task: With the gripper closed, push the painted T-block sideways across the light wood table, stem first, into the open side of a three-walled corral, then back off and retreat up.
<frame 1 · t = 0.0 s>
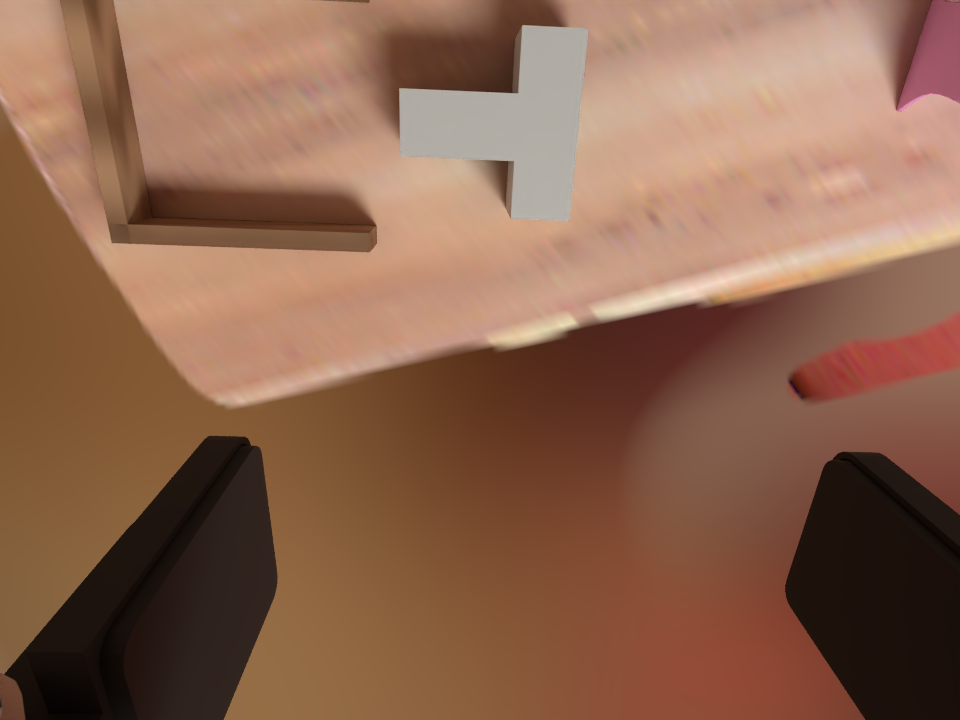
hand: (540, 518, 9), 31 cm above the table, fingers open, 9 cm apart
corral: (254, 116, 35), on the table
tee block: (537, 128, 36), on the table
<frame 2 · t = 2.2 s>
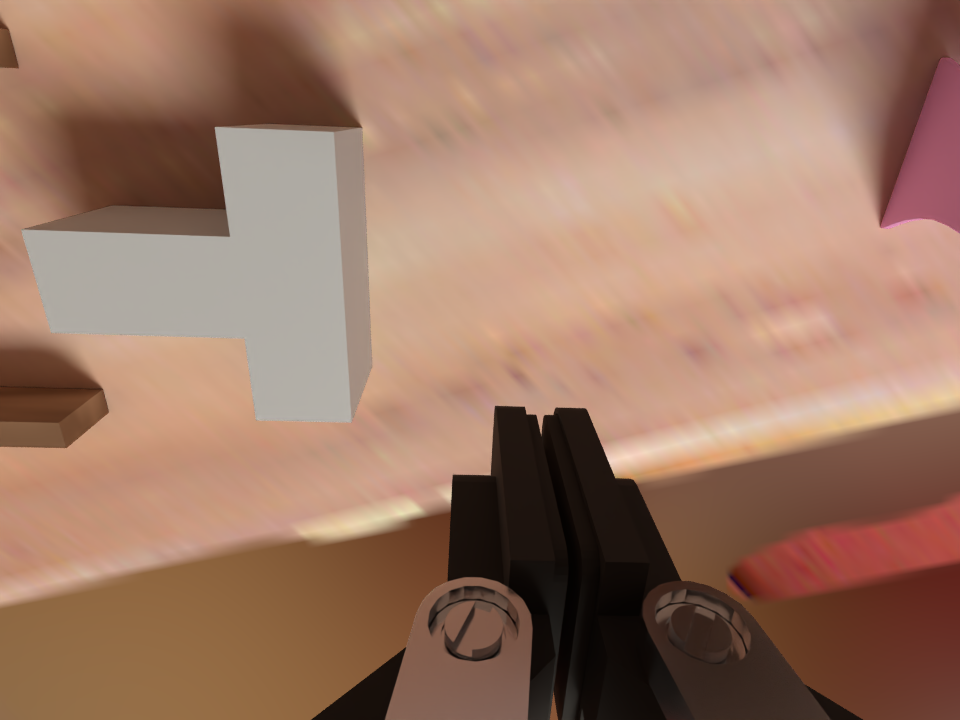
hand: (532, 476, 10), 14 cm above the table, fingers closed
tee block: (325, 255, 23), on the table
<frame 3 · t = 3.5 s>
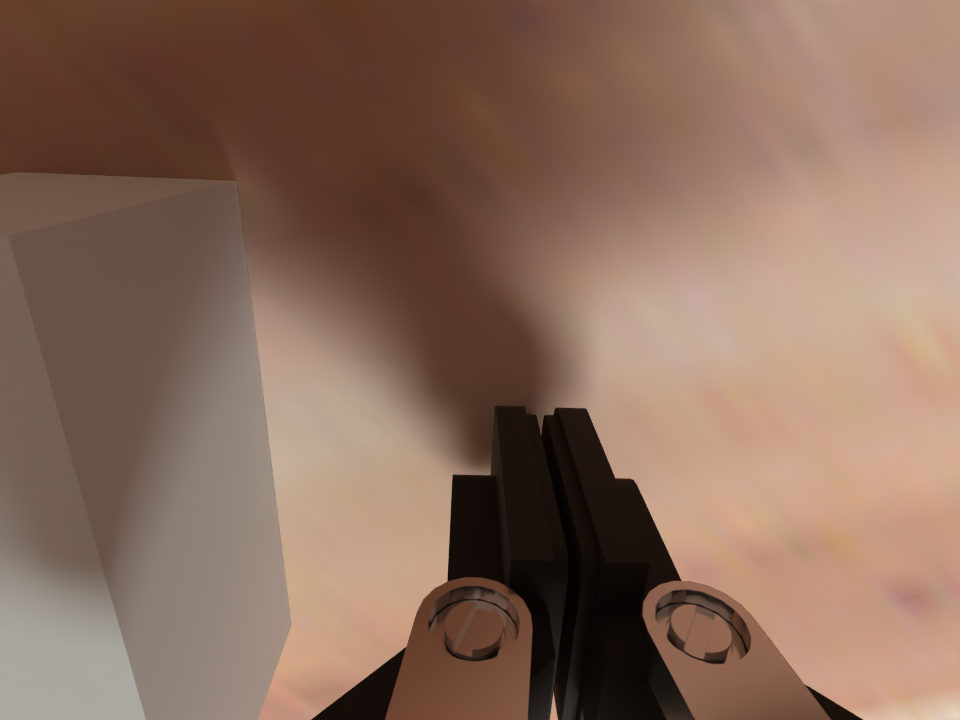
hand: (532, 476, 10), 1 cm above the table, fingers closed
tee block: (180, 438, 11), on the table
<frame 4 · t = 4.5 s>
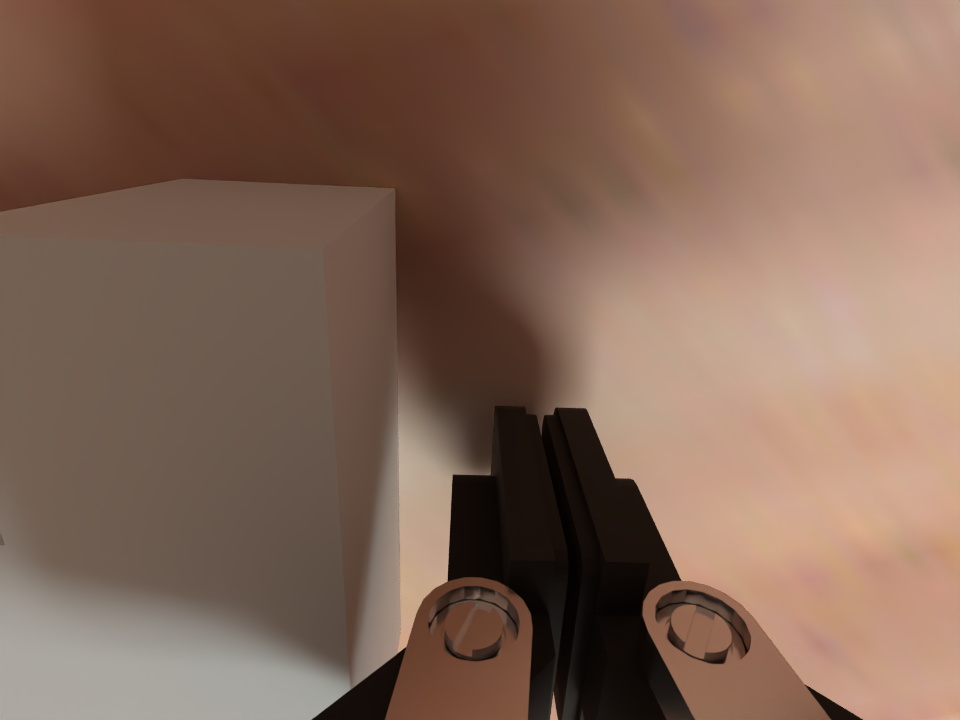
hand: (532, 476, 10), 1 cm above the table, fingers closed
tee block: (310, 443, 11), on the table, touching gripper
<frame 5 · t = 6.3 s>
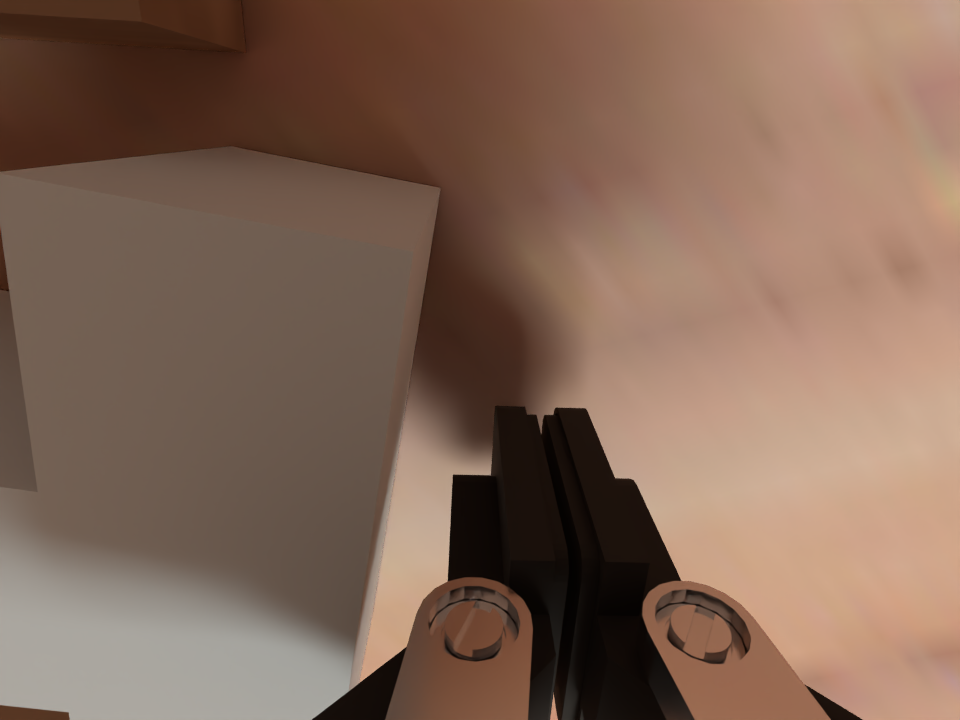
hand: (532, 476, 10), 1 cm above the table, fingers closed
tee block: (314, 423, 11), on the table, touching gripper
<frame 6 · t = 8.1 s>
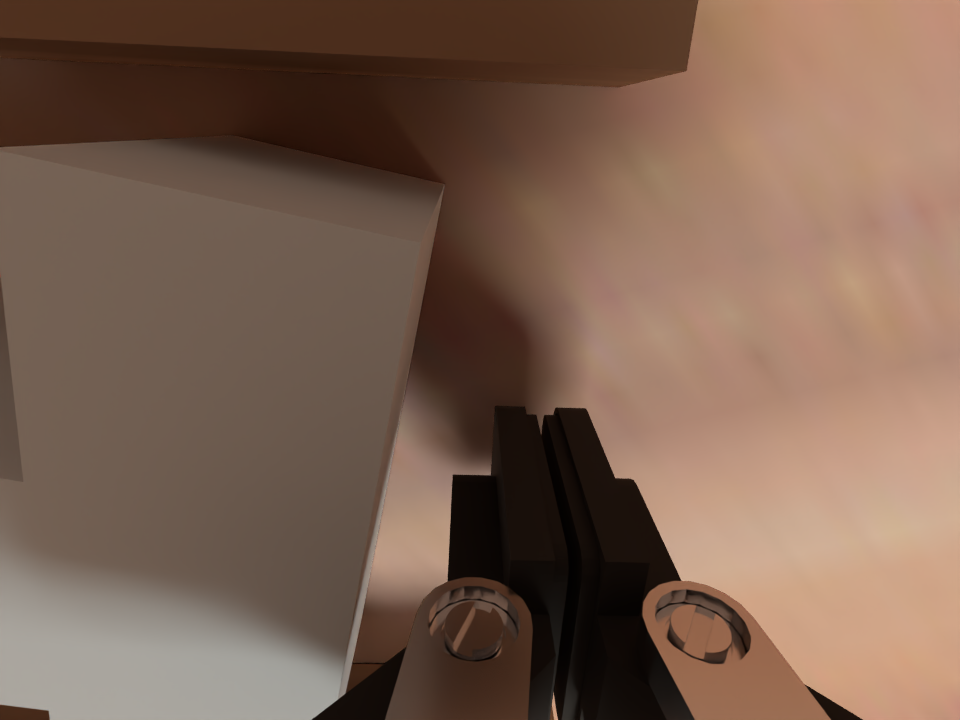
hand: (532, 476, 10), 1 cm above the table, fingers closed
corral: (200, 431, 11), on the table
tee block: (309, 420, 11), on the table, touching gripper
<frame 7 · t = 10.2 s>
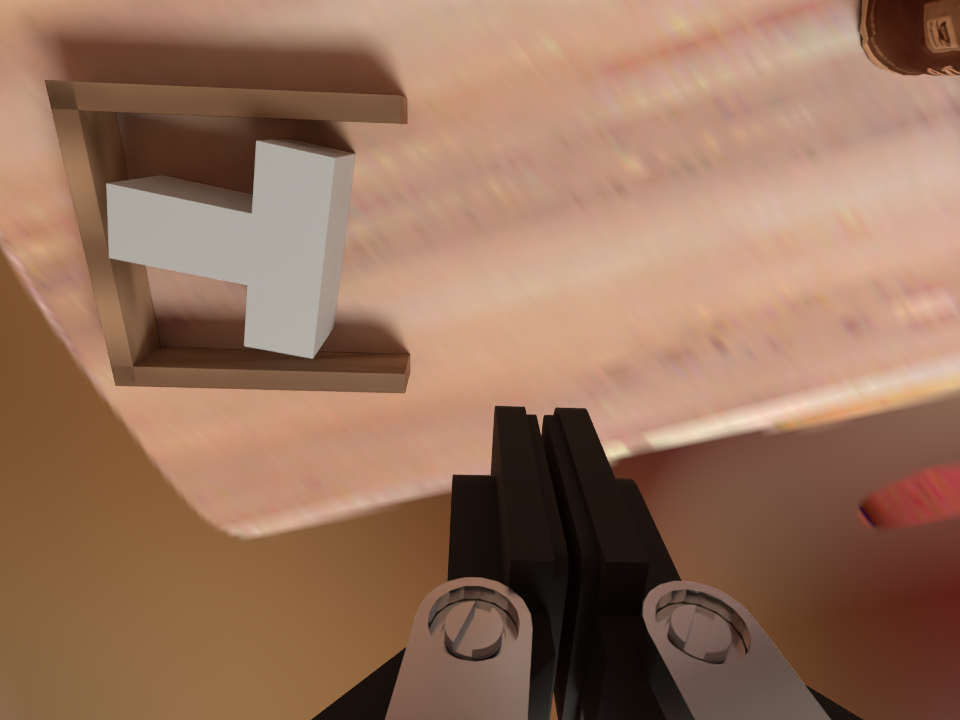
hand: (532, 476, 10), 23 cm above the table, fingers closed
coffee cup: (920, 3, 28), on the table
corral: (275, 243, 31), on the table
tee block: (313, 239, 31), on the table
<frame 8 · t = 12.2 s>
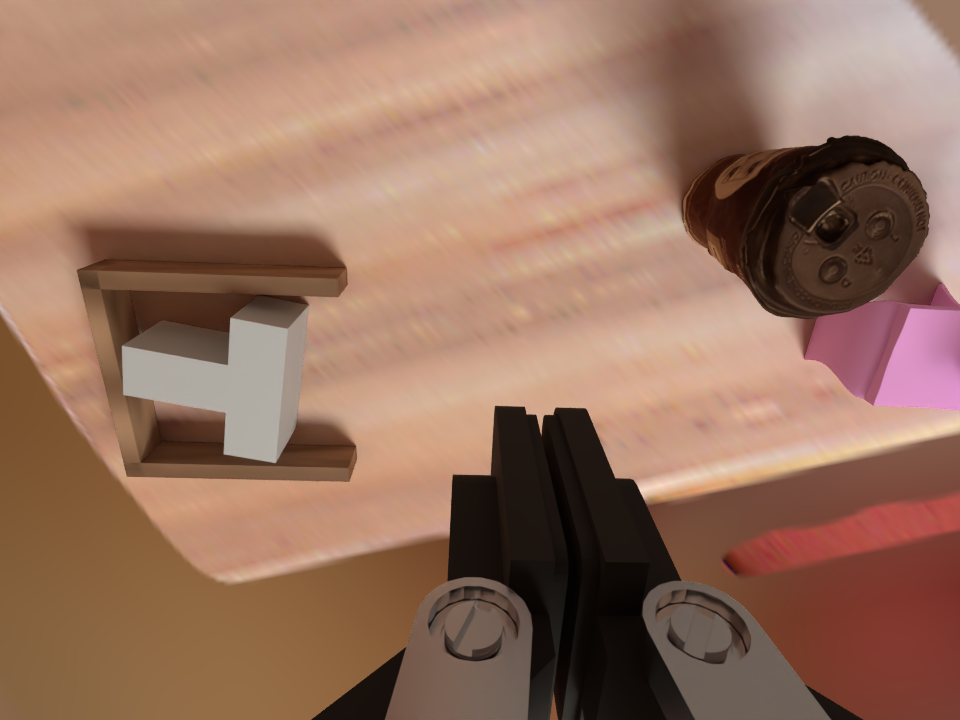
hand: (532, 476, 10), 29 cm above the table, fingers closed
coffee cup: (728, 202, 37), on the table
corral: (249, 367, 41), on the table
tee block: (278, 364, 41), on the table
toy chair: (866, 321, 41), on the table
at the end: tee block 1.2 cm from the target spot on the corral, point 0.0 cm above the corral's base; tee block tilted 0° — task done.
